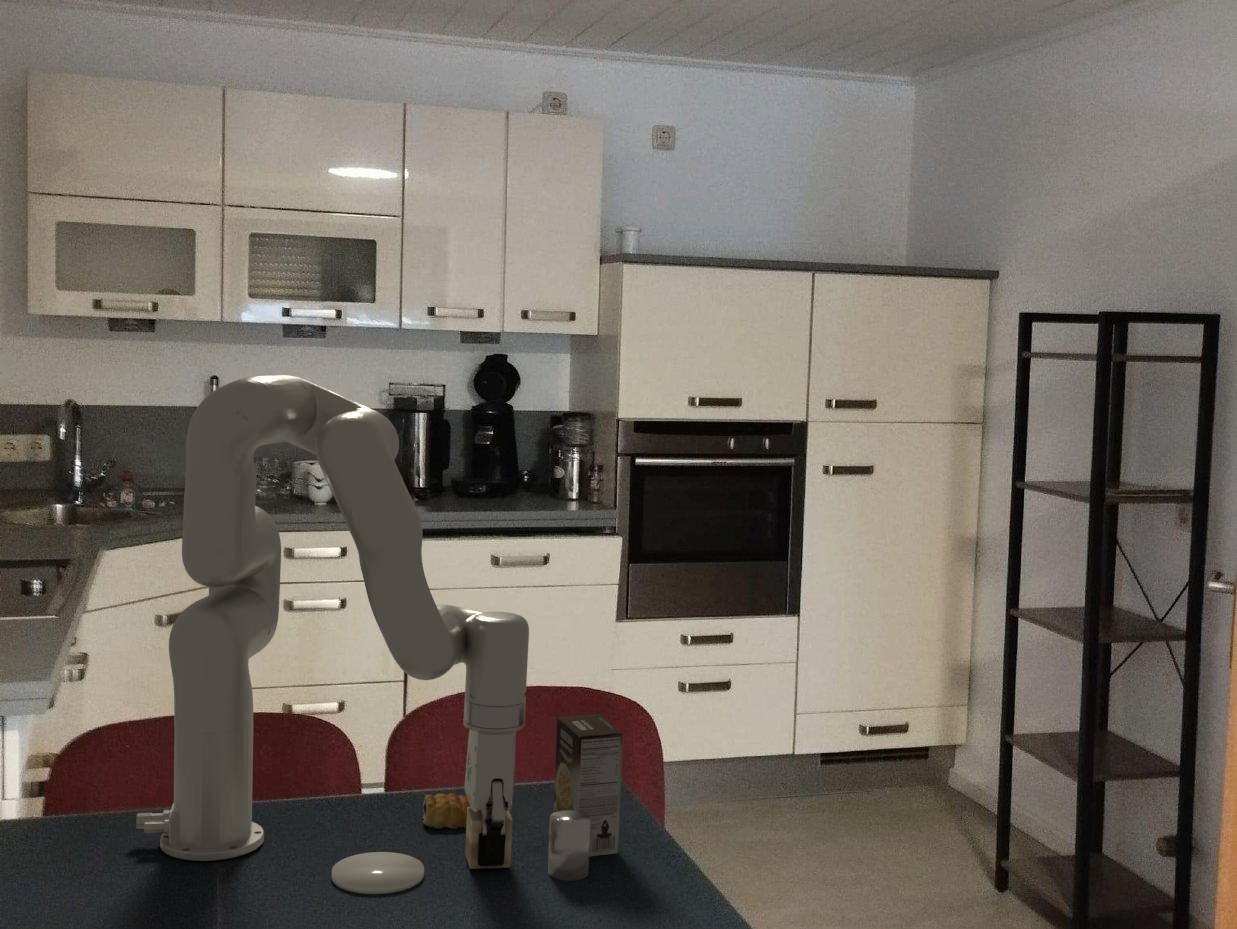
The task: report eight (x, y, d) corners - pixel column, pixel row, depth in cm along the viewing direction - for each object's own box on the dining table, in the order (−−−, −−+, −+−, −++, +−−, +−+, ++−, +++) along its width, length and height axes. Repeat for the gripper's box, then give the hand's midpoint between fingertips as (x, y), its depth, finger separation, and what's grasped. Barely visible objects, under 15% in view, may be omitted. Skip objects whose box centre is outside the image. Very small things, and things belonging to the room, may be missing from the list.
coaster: (332, 896, 155) (332, 889, 155) (330, 860, 166) (330, 854, 166) (427, 891, 158) (428, 884, 158) (420, 856, 168) (420, 850, 168)
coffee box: (550, 834, 178) (554, 715, 176) (595, 829, 180) (600, 712, 179) (573, 859, 169) (578, 735, 168) (620, 854, 172) (625, 731, 170)
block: (469, 868, 164) (472, 821, 163) (465, 853, 169) (467, 806, 168) (510, 867, 165) (512, 820, 164) (504, 851, 170) (506, 806, 169)
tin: (551, 881, 162) (553, 825, 161) (544, 865, 167) (546, 811, 166) (592, 879, 163) (594, 823, 163) (583, 863, 168) (585, 809, 167)
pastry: (487, 811, 186) (488, 785, 185) (494, 829, 179) (495, 802, 179) (419, 814, 184) (420, 787, 183) (424, 833, 177) (424, 805, 177)
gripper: (456, 695, 173) (450, 832, 174) (472, 733, 156) (465, 884, 158) (514, 694, 174) (507, 830, 176) (536, 733, 158) (528, 882, 159)
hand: (487, 854), depth 167 cm, fingers closed on block, 5 cm apart
